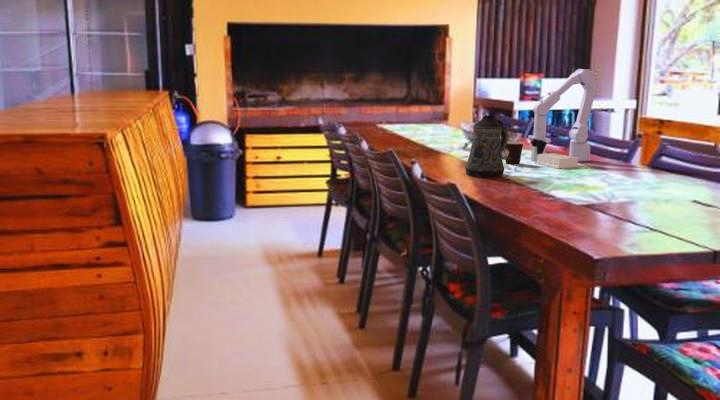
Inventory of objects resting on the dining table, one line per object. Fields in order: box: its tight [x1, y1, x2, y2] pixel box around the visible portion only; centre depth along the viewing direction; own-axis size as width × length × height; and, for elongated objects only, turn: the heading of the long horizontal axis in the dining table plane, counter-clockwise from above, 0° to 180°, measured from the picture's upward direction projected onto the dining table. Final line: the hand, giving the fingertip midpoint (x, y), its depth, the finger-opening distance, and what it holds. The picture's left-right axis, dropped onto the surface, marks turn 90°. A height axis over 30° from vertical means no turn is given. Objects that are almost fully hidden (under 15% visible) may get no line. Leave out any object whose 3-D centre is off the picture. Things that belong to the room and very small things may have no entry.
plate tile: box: [530, 145, 547, 162], centre depth 328 cm, size 7×2×7 cm, turn 114°
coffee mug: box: [504, 141, 524, 166], centre depth 319 cm, size 12×9×10 cm
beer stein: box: [464, 115, 509, 179], centre depth 288 cm, size 16×19×25 cm
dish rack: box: [534, 152, 581, 170], centre depth 315 cm, size 13×16×4 cm
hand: (538, 155), depth 329 cm, fingers closed on plate tile, 2 cm apart
